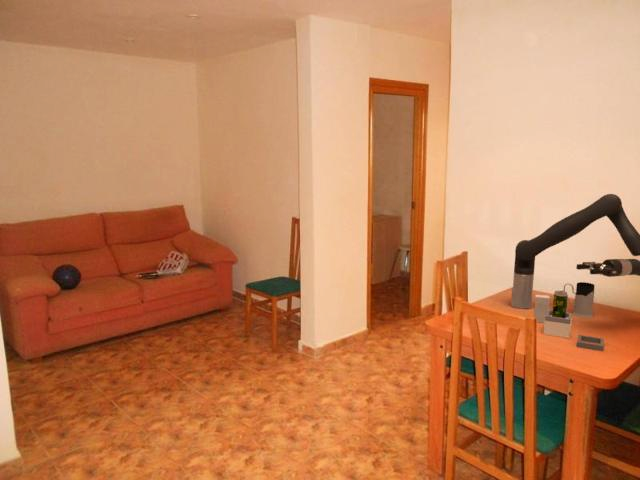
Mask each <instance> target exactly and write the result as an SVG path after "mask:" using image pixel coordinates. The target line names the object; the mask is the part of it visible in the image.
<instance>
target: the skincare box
mask: <svg viewBox="0 0 640 480" xmlns="http://www.w3.org/2000/svg"><path fill="white" fill-rule="evenodd" d="M534 296H535V297H534V311H533V318H534V317H535V318H537V322H536V323H542V324H544V323H545V317H546V314H547V311H548V310H550V303H551V302H550V301H551V297H550V296H549V295H546V294H545V295H544V294H535V295H534Z"/></svg>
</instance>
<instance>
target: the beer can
mask: <svg viewBox="0 0 640 480" xmlns="http://www.w3.org/2000/svg"><path fill="white" fill-rule="evenodd" d="M568 296H569V295H568V292H567V291H566V290H565V291H564V290H555V291H554V294H553V300H552V301H553V302H552V317H559V318H566V313H567V309H568V300H567V298H568V299H569V297H568Z"/></svg>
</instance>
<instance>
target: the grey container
mask: <svg viewBox="0 0 640 480" xmlns="http://www.w3.org/2000/svg"><path fill="white" fill-rule="evenodd" d="M566 285H569V286H571V289H572V293H573V294H574V304H573V303H572V301H571V300H570V299H569V297H568V298H567V302H568V303H569V304H571V306H572V307H573V312H572V316H575V317H578V318H582V319H584V318H585V319H590V318H594V315H593V314H594V313H593V309H594V301H595V300H594V299H595V284H594V283H591V282H585V281H583V282H577V283H576V289H575V291H574V286H573V285H572V283H565V284H564V286H563V291H565V292H566Z"/></svg>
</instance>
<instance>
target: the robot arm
mask: <svg viewBox="0 0 640 480" xmlns="http://www.w3.org/2000/svg"><path fill="white" fill-rule="evenodd" d="M604 217H607V218H608V219H609V220H610V222H611V223H612V225H613V226H614V228H616V230H617V233H618V234H619V236H620V237H621V239H622V242H623V243H624V245H625V246H626V248H627V249H628V251H629V252H630V254H631V256H633V257H640V233H639V232H638V230H637V229H636V228H635V225H633V224H632V223H631V221H630V220H629V217H627V214H626V212H625V210H624V207H623V202H622V199H621V198H620V196H619V195H617V194H614V193H608V194H605V195H603V196H601V197H600V198H598V199H597V200H596V201H594V202H593V203H591V204H590V205H588V206H586V207H585V208H582V209H581V210H579V211H578V210H577V212H574V213H571V214H570V215H568V216H565V217H564V218H562V219H560V220H558V221H557V222H555V223H553V224H552V225H551V226H549V227H548V228H547V229H546V230H544V231H543V232H542V233H541V234H539V235H538V236H535V237H533V238H531V239H530V240H529V239H524V240H520V241H519V242H518V243H517V244H516V246H515V250H514V251H515V253H514V254H515V256H514V264H513V265H514V267H513V282H512V283H513V284H512V285H513V286H512V288H511V301H510V302H511V303H510V306H511V307H513V308H515V309H516V308H517V309H522V310H528V309H531V308H532V304H533V303H532V301H533V289H534V276H535V268H536V267H535V264H536V257H537V256H538V255H540V254H541V253H543V252H544V251H545V250H548V249H549V248H551V247H552V248H553V247H554V246H557V245H558V244H560V243H562V242H564V241H567V240H568V239H570V238H572V237H574V236H576V235H577V234H580V233H581V232H582V231H584V230H586V228H587V227H588V226H591V224H593V223H594V222H596V221H598V220H601V219H602V218H604ZM576 270H579V271H580V270H589V274H590V275H598V276H599V275H600V276H601V275H602V276H605V277H608V278H613V277H614V278H615V277H625V276H637V277H638V276H640V260H639V259H637V258H611V259H610V258H609V259H608V258H607V259H605V260H603V262H596V261H588V262H587V261H583V262H582V263H577V264H576Z"/></svg>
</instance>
